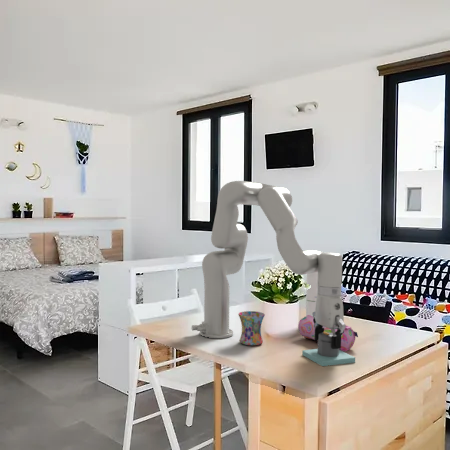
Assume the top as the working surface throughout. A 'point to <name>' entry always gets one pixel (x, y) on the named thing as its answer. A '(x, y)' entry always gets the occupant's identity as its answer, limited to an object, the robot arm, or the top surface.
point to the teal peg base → (328, 358)
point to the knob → (326, 345)
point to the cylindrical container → (311, 293)
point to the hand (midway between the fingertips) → (327, 344)
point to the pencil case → (308, 332)
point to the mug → (251, 327)
